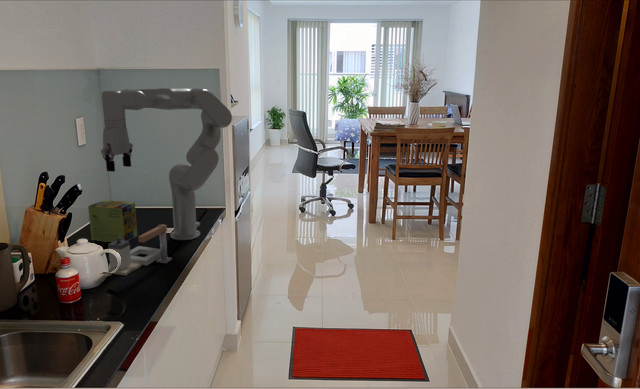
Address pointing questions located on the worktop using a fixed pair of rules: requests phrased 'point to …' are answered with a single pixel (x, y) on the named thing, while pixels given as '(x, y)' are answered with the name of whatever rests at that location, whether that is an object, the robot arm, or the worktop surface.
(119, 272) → the birch board
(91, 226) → the protein box
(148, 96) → the robot arm
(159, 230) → the clip
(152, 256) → the socket block
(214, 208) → the worktop surface
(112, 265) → the plug
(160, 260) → the clip post
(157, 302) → the worktop surface
